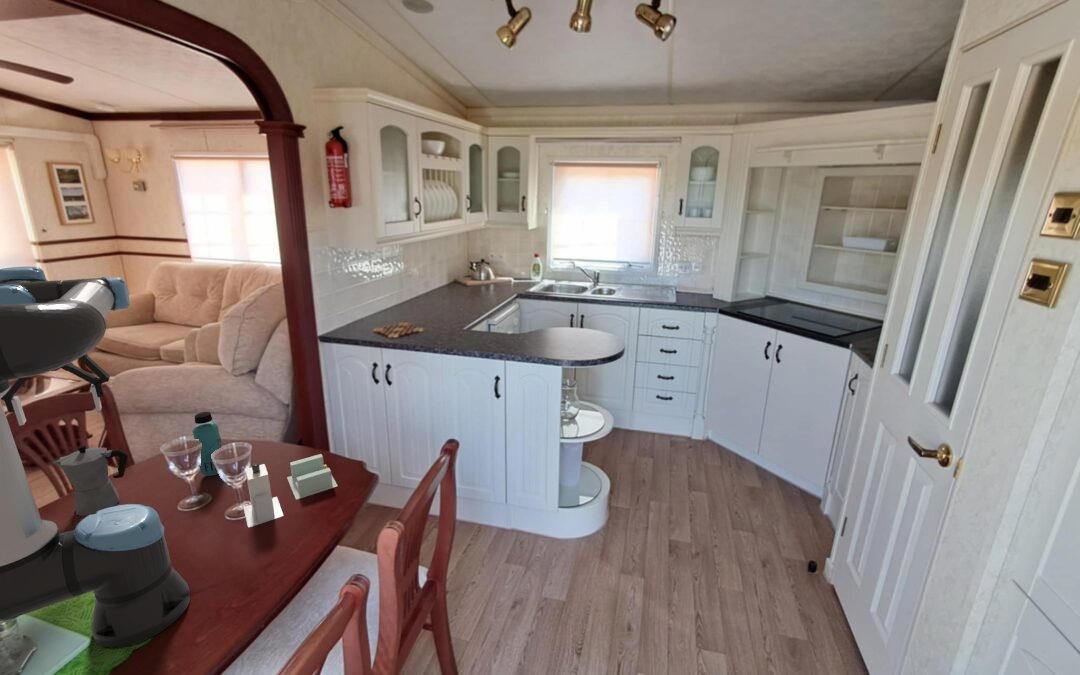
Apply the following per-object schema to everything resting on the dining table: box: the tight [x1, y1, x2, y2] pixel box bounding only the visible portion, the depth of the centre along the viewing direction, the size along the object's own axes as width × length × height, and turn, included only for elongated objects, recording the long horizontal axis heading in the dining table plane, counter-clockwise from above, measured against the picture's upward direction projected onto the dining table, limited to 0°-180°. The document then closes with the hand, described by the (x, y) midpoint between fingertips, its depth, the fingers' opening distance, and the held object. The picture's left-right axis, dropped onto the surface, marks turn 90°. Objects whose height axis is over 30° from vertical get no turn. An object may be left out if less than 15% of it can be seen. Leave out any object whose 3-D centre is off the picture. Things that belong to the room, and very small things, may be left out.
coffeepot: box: [51, 444, 129, 517], centre depth 124 cm, size 15×9×18 cm, turn 110°
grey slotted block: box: [243, 493, 284, 529], centre depth 124 cm, size 10×8×8 cm
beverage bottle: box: [191, 411, 223, 477], centre depth 139 cm, size 6×7×20 cm
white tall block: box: [244, 462, 274, 521], centre depth 123 cm, size 6×4×14 cm
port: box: [286, 453, 338, 501], centre depth 137 cm, size 13×11×6 cm
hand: (62, 416), depth 116 cm, fingers open, 13 cm apart
